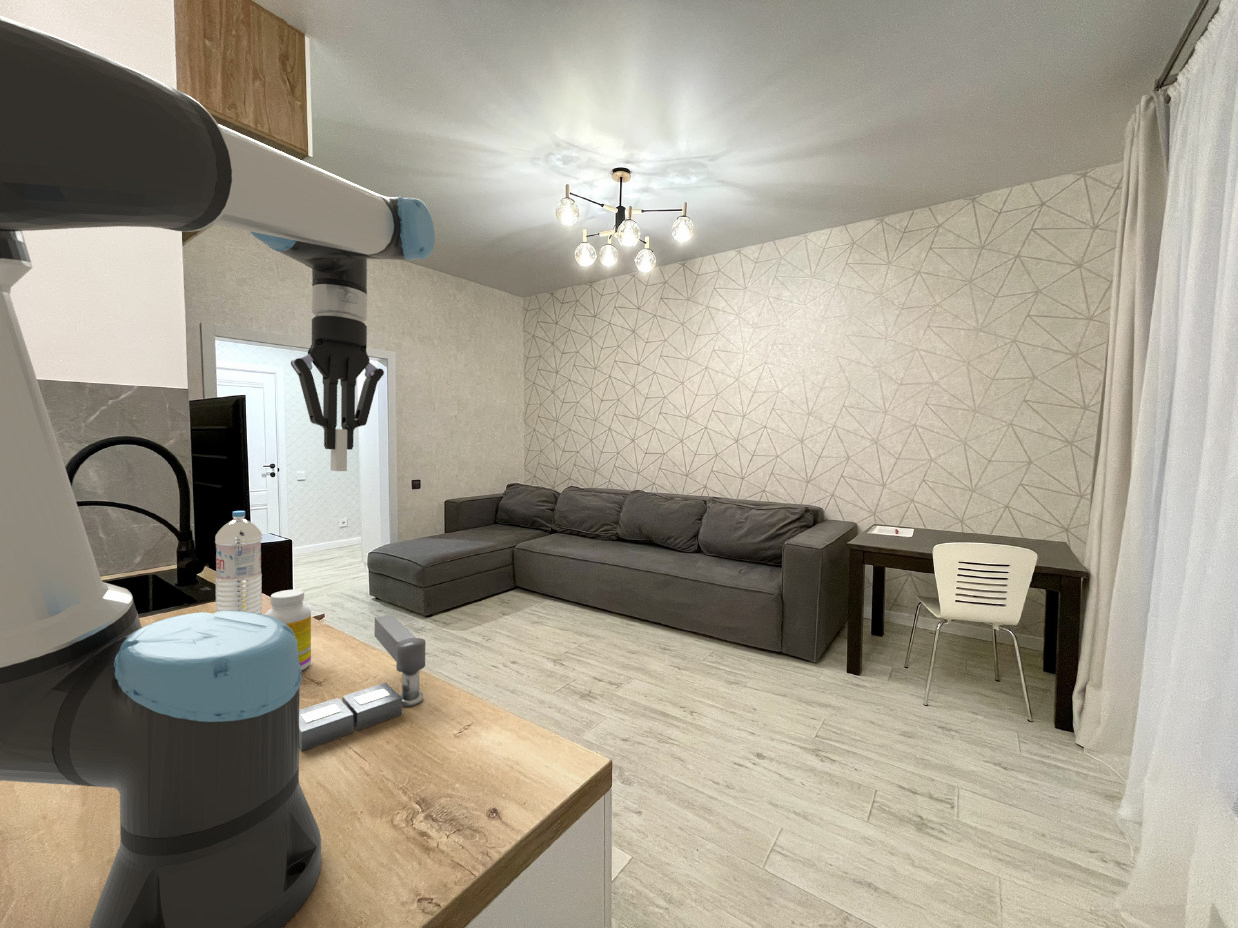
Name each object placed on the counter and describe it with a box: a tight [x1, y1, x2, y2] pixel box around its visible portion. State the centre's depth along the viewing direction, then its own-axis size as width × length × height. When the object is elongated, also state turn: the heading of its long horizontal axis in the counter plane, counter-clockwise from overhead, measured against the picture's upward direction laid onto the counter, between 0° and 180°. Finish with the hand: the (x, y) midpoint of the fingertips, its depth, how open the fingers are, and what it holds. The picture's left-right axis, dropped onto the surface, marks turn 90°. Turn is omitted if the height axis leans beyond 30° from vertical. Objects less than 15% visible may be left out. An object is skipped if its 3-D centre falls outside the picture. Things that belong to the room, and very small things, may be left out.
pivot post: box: [399, 670, 424, 708], centre depth 75 cm, size 4×4×5 cm
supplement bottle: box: [264, 589, 312, 671], centre depth 84 cm, size 7×7×13 cm
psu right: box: [341, 682, 403, 732], centre depth 72 cm, size 6×6×3 cm
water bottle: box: [214, 510, 263, 614], centre depth 93 cm, size 7×7×25 cm
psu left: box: [299, 696, 354, 752], centre depth 67 cm, size 6×6×3 cm
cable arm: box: [374, 614, 427, 673], centre depth 80 cm, size 17×4×4 cm, turn 40°
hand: (338, 470), depth 79 cm, fingers closed
